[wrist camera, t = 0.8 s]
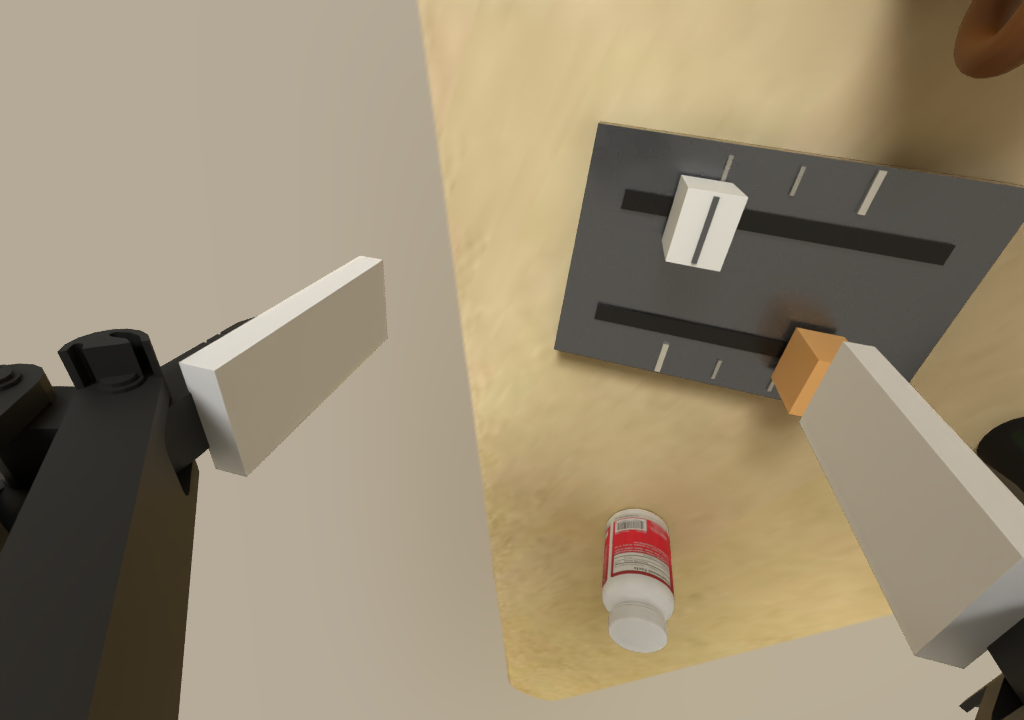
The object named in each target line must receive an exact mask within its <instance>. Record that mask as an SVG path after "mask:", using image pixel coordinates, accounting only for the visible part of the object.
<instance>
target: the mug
mask: <svg viewBox="0 0 1024 720" xmlns="http://www.w3.org/2000/svg"><path fill="white" fill-rule="evenodd" d="M954 59H955V63H956V65H957V67H958V68H959V70H960V71H961V72H962V73H963V74H965V75H967V76H970V77H973V78H989V77H994V76H998V75H1001V74H1004V73H1007V72H1009V71H1011V70H1013V69H1014V68H1016V67H1018V66H1020V65H1022V64H1024V0H973V2H972V3H971V5H970V7H969V9H968V11H967V13H966V15H965V17H964V19H963V21H962V24H961V26H960V28H959V31H958V35H957V38H956V42H955V48H954Z"/></svg>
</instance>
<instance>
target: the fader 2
mask: <svg viewBox="0 0 1024 720" xmlns="http://www.w3.org/2000/svg"><path fill="white" fill-rule="evenodd" d="M843 341H845V342H848V340H847V339H846V338H845V337H842V336H837V335H832V334H827V333H822V332H817V331H812V330H807V329H802V328H797V327H796V329H795V331H794V333H793V335H792V337H791V339H790V341H789V343H788V345H787V347H786V349H785V351H784V353H783V355H782V357H781V358H780V360H779V362H778V364H777V366H776V368H775V370H774V372H773V374H772V376H771V378H772V380H773V382H774V384H775V386H776V388H777V391H778V393H779V395H780V397H781V399H782V401H783V403H784V405H785V407H786V409H787V412H788V414H792V415H797V416H801V417H802V416H803V414H804V412H805V410H806V408H807V407H808V405H809V403H810V401H811V399H812V397H813V396H814V394H815V392H816V390H817V388H818V386H819V385H820V383H821V381H822V379H823V377H824V375H825V374H826V372H827V370H828V368H829V366H830V364H831V363H832V361H833V359H834V357H835V355H836V353H837V352H838V350H839V348H840V346H841V344H842V342H843Z"/></svg>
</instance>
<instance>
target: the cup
mask: <svg viewBox="0 0 1024 720" xmlns="http://www.w3.org/2000/svg"><path fill="white" fill-rule="evenodd" d="M977 452H978V457H979V458H980V459H981V460H982V462H983V463H986V464H988V465H989V466H990V467H992V468H993V469H995V470H996V471H998V472H999V473H1000V474H1002V475H1003V476H1005V477H1006V478H1007V479H1009V480H1010V481H1012V482H1013V483H1014V484H1016V485H1017V486H1018V487H1019V488H1020V489H1021V490H1022V491H1023V492H1024V417H1022V418H1018V419H1013V420H1011V421H1008V422H1006V423H1003V424H1001V425H999V426H998V427H996V428H994V429H993V430H991V431H990V432H989V433H988V434H987V435H986V436H985V437H984V438H983V439H982V441H981V442H980V444H979V447H978V450H977Z"/></svg>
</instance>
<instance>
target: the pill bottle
mask: <svg viewBox="0 0 1024 720" xmlns="http://www.w3.org/2000/svg"><path fill="white" fill-rule="evenodd" d="M602 600H603V603H604V606H605V608H606V609H607V611H608V612H609V613H610V614H609V627H608V630H609V635H610V637H611V639H612V640H613V641H614V642H615V643H616V644H618V645H619V646H621V647H622V648H625V649H627V650H630V651H634V652H639V653H651V652H655V651H658V650H660V649H662V648H663V647H664V646H665V645H666V643H667V626H666V625H667V623H666V621H667V620H668V619H669V618H670V617H671V615H672V613H673V611H674V590H673V578H672V565H671V552H670V540H669V531H668V528H667V526H666V524H665V523H664V521H663V520H662V519H661V518H660V517H658V516H657V515H655V514H654V513H652V512H649V511H646V510H643V509H635V508H634V509H626V510H622V511H619V512H617V513H615V514H614V515H613V516H612V517H611V518H610V519H609V521H608V523H607V526H606V535H605V551H604V566H603V581H602Z"/></svg>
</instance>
